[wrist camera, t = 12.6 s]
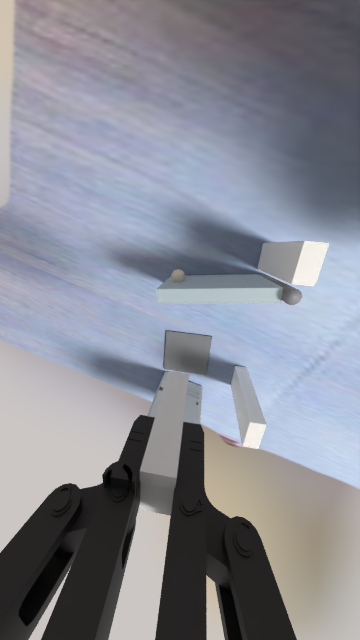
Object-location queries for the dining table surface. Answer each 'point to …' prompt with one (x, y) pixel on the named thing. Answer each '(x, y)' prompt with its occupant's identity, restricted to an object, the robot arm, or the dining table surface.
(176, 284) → the door
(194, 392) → the skincare box
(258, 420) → the wall
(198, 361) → the mat
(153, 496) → the robot arm
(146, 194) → the dining table surface
